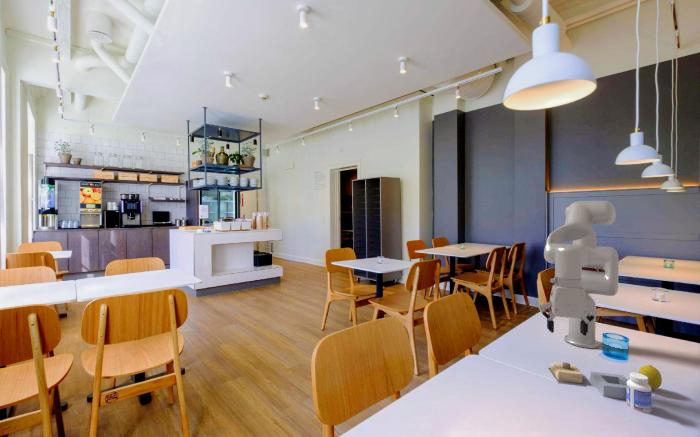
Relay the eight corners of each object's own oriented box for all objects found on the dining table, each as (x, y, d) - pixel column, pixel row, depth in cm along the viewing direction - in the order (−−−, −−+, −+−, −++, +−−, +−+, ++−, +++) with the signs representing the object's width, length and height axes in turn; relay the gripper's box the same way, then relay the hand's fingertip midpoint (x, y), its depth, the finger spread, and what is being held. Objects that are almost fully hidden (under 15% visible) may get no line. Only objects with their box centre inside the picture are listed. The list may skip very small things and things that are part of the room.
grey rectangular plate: (547, 369, 118) (547, 367, 118) (573, 372, 116) (573, 370, 116) (558, 385, 107) (558, 383, 107) (586, 388, 105) (586, 386, 105)
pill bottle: (656, 412, 92) (656, 379, 92) (642, 416, 91) (643, 381, 91) (634, 402, 98) (635, 370, 97) (621, 405, 96) (622, 372, 96)
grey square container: (590, 383, 108) (590, 371, 108) (622, 387, 106) (622, 374, 106) (603, 398, 100) (603, 385, 99) (638, 402, 97) (638, 389, 97)
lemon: (665, 395, 101) (665, 370, 101) (643, 392, 103) (643, 367, 103) (655, 386, 106) (656, 362, 106) (634, 383, 108) (635, 359, 108)
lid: (551, 370, 116) (551, 358, 115) (573, 373, 114) (573, 360, 114) (558, 380, 109) (558, 367, 109) (582, 383, 107) (582, 370, 107)
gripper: (542, 283, 109) (542, 334, 109) (603, 286, 105) (601, 339, 105) (536, 279, 116) (535, 326, 117) (592, 282, 112) (591, 331, 112)
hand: (566, 332), depth 111 cm, fingers open, 9 cm apart
